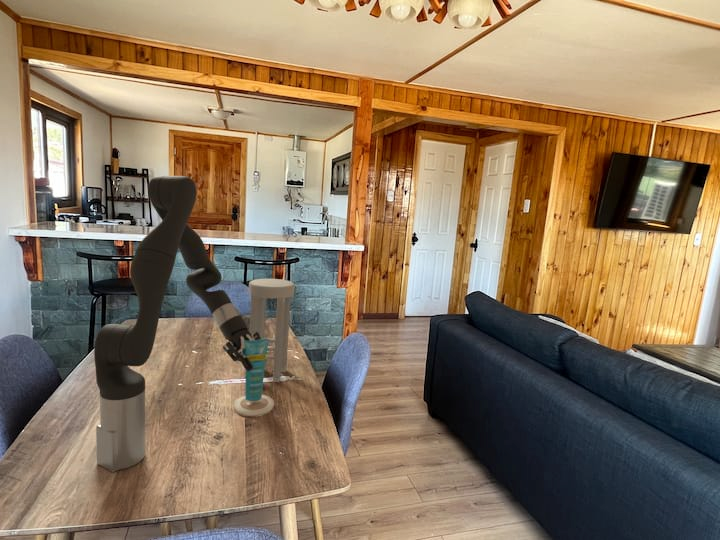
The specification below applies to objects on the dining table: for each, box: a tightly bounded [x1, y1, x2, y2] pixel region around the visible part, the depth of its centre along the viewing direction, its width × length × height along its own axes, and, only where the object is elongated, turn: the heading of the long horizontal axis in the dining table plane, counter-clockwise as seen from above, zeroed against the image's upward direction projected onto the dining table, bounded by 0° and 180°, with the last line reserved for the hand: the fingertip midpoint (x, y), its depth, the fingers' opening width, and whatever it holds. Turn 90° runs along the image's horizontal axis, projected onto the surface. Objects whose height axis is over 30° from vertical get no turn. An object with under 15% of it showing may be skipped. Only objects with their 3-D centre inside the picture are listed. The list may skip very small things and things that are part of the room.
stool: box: [248, 278, 296, 384], centre depth 149 cm, size 16×16×35 cm
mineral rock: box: [240, 313, 250, 332], centre depth 193 cm, size 13×11×10 cm
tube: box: [244, 339, 270, 401], centre depth 126 cm, size 7×5×19 cm, turn 123°
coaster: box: [233, 394, 275, 417], centre depth 128 cm, size 12×12×1 cm
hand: (257, 366), depth 126 cm, fingers closed on tube, 5 cm apart
